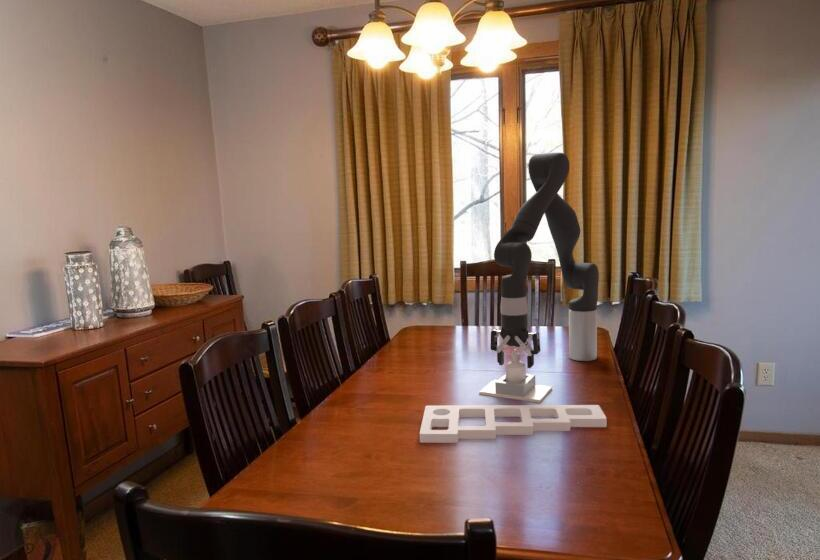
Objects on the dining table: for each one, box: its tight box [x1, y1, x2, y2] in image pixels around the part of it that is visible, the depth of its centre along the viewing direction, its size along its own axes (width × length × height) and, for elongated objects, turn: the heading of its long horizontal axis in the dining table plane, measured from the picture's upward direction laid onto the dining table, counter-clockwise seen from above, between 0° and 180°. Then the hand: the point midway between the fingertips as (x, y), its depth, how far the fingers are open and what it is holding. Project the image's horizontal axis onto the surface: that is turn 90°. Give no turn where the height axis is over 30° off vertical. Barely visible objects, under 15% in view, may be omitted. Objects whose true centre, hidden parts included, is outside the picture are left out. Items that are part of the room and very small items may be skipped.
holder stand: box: [478, 373, 553, 404], centre depth 160 cm, size 12×18×4 cm, turn 60°
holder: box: [419, 404, 608, 444], centre depth 136 cm, size 45×18×3 cm, turn 83°
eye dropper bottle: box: [505, 348, 527, 384], centre depth 160 cm, size 4×6×12 cm
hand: (515, 366), depth 159 cm, fingers open, 8 cm apart
